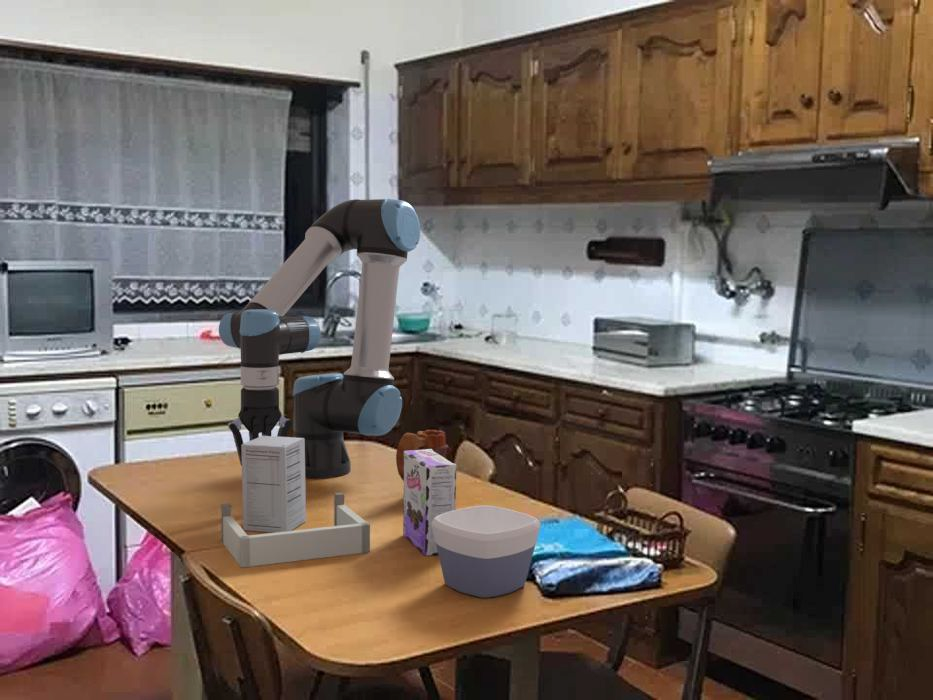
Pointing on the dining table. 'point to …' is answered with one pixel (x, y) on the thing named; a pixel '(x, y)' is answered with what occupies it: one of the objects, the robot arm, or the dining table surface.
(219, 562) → the dining table surface
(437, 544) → the bowl
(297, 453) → the supplement box
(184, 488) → the dining table surface
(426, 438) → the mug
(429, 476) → the candy box
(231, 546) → the bay
